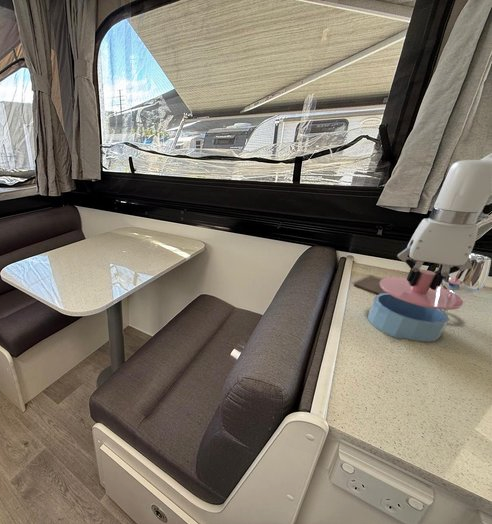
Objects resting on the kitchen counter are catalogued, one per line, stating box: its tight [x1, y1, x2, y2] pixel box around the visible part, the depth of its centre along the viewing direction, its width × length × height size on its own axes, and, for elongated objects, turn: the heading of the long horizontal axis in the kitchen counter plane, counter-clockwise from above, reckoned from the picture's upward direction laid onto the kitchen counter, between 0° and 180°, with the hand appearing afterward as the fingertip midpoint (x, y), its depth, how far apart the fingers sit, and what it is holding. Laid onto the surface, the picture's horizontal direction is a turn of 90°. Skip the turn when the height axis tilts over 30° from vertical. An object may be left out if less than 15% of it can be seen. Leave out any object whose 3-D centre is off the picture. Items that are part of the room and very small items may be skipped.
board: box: [353, 276, 387, 296], centre depth 92 cm, size 16×12×1 cm
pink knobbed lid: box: [379, 269, 464, 311], centre depth 70 cm, size 16×16×7 cm
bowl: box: [367, 293, 450, 343], centre depth 74 cm, size 15×15×6 cm
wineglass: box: [440, 252, 492, 314], centre depth 74 cm, size 8×8×20 cm
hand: (421, 285), depth 70 cm, fingers closed on pink knobbed lid, 3 cm apart
